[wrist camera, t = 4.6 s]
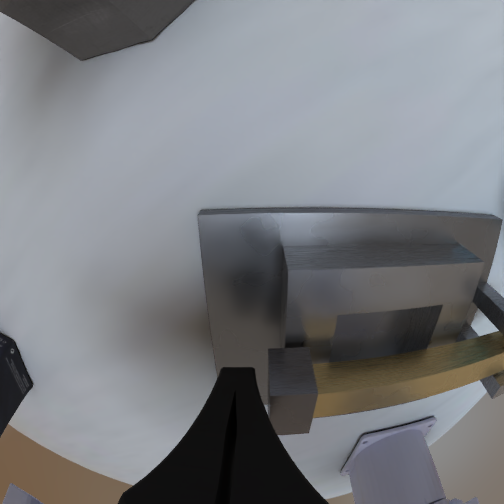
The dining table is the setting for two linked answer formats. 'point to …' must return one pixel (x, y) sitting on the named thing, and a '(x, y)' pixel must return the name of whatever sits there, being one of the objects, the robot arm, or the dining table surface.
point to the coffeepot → (95, 21)
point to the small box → (11, 381)
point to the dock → (258, 274)
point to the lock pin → (371, 379)
